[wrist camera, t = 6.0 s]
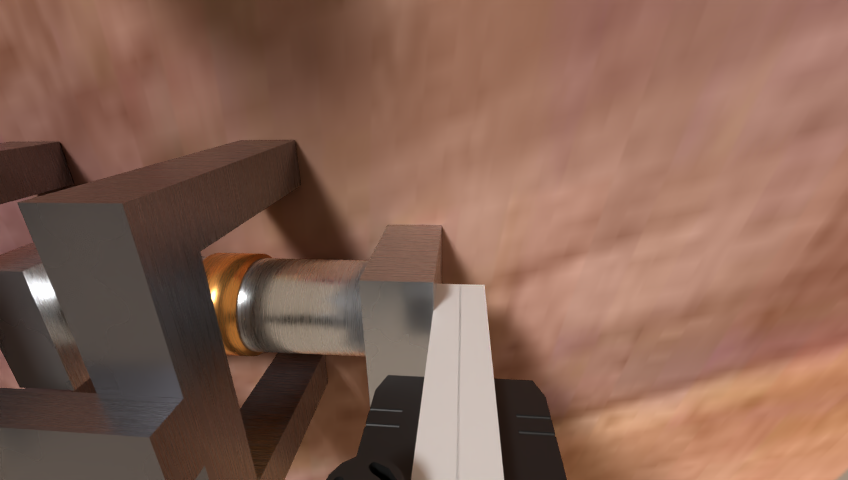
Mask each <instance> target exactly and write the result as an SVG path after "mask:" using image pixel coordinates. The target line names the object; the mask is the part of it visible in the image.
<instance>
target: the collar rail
mask: <svg viewBox="0 0 848 480" xmlns="http://www.w3.org/2000/svg"><path fill="white" fill-rule="evenodd" d="M73 184H74V182H73V180H72V177H71V174H70V171H69V168H68V166H67V163H66V160H65V157H64V154H63V152H62V149H61V146H60V143H59V142H6V143H0V204H3V203H7V202H10V201H14V200H18V199H21V198H25V197H29V196H32V195H36V194H40V193H43V192H47V191H51V190H54V189H58V188H62V187H65V186H69V185H73ZM300 185H301V181H300V174H299V167H298V159H297V152H296V145H295V140H240V141H236V142H233V143H229V144H226V145H222V146H218V147H215V148H211V149H208V150H204V151H200V152H197V153H193V154H190V155H186V156H183V157H179V158H175V159H172V160H168V161H165V162H161V163H157V164H154V165H150V166H147V167H143V168H139V169H136V170H132V171H129V172H125V173H121V174H118V175H114V176H111V177H107V178H104V179H100V180H96V181H93V182H89V183H86V184H82V185H78V186H75V187H71V188H68V189H64V190H60V191H57V192H53V193H50V194H46V195H43V196H39V197H35V198H32V199H28V200H25V201H21V202H17V203H18V206H19V208H20V210H21V213H22V215H23V218H24V220H25V222H26V225H27V227H28V230H29V232H30V234H31V237H32V239H33V242H34V244H35V246H36V249H37V251H38V254H39V256H40V258H41V261H42V263H43V266H44V268H45V270H46V273H47V275H48V278H49V280H50V282H51V285H52V287H53V290H54V292H55V294H56V297H57V299H58V302H59V304H60V306H61V309H62V311H63V314H64V316H65V318H66V321H67V323H68V326H69V328H70V330H71V333H72V335H73V338H74V340H75V342H76V345H77V347H78V350H79V352H80V354H81V357H82V359H83V362H84V364H85V366H86V369H87V371H88V374H89V376H90V378H89V379H88V380H87V381H86V382H84V383H83V384H82V385H81V386H79V387H78V388H77V389H76V390H57V389H39V388H25V389H11V388H0V480H285V478H286V475H287V473H288V471H289V469H290V466H291V464H292V462H293V460H294V457H295V455H296V453H297V451H298V448H299V446H300V444H301V442H302V439H303V437H304V435H305V433H306V430H307V428H308V426H309V424H310V421H311V419H312V417H313V415H314V412H315V410H316V408H317V406H318V403H319V401H320V399H321V397H322V394H323V392H324V390H325V388H326V386H327V383H328V378H327V370H326V363H325V356H324V355H323V354H300V353H278V354H277V355H276V357H275V358H274V360H273V361H272V363H271V364H270V366H269V367H268V368H267V370H266V371H265V373H264V374H263V376H262V377H261V379H260V380H259V382H258V383H257V385H256V386H255V388H254V389H253V391H252V392H251V394H250V395H249V397H248V398H247V400H246V401H245V403H244V404H243V406H242V407H241V408H239V404H238V400H237V396H236V392H235V388H234V384H233V380H232V376H231V372H230V368H229V364H228V360H227V356H226V352H225V348H224V344H223V340H222V336H221V332H220V328H219V324H218V320H217V316H216V312H215V308H214V304H213V300H212V296H211V292H210V288H209V284H208V280H207V276H206V272H205V268H204V264H203V260H202V256H201V252H200V251H202V250H203V249H205V248H206V247H208V246H209V245H211V244H212V243H214V242H215V241H217V240H218V239H220V238H221V237H223V236H225V235H226V234H228V233H229V232H231V231H232V230H234V229H235V228H237V227H238V226H240V225H241V224H243V223H244V222H246V221H247V220H249V219H250V218H252V217H253V216H255V215H256V214H258V213H259V212H261V211H263V210H264V209H266V208H267V207H269V206H270V205H272V204H273V203H275V202H276V201H278V200H279V199H281V198H282V197H284V196H285V195H287V194H288V193H290V192H291V191H293V190H294V189H296V188H297V187H299V186H300Z"/></svg>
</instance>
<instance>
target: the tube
mask: <svg viewBox="0 0 848 480" xmlns="http://www.w3.org/2000/svg"><path fill="white" fill-rule="evenodd" d="M202 260H203V264H204V268H205V272H206V276H207V280H208V284H209V288H210V292H211V296H212V300H213V304H214V308H215V312H216V316H217V320H218V324H219V328H220V332H221V336H222V340H223V344H224V348H225V352H226V355H240V356H257V355H259V354H261V353H263V352H277V353H300V354H323V355H345V356H366V365H367V376H368V388H369V399H370V407H371V403H372V400H373V396H374V393H375V390H376V388H377V387H378V386H379V385H380V384H381V383H382V381H383V380H384V379H385V378H386V377H387V376H388V375H399V376H419V377H425V370H426V362H427V354H428V347H429V339H430V332H431V324H432V316H433V311H434V304H435V296H436V288H437V284H442V226H430V225H387V227H386V229H385V231H384V233H383V235H382V237H381V239H380V241H379V243H378V245H377V246H376V248H375V250H374V252H373V254H372V256H371V258H370V260H325V259H278V258H272V257H270V256H269V255H267V254H245V253H215V254H212V255H210V256H208V257H202ZM0 349H1V351H2V353H3V355H4V357H5V359H6V361H7V363H8V365H9V367H10V369H11V371H12V373H13V375H14V377H15V379H16V381H17V383H18V385H19V387H21V388H39V389H57V390H76V389H77V388H78V387H79V386H81V385H82V384H83V383H84V382H86V381H87V380H88V379H89V378H90V376H89V374H88V371H87V369H86V366H85V364H84V362H83V359H82V357H81V354H80V352H79V350H78V347H77V345H76V342H75V340H74V338H73V335H72V333H71V330H70V328H69V326H68V323H67V321H66V318H65V316H64V314H63V311H62V309H61V306H60V304H59V302H58V299H57V297H56V294H55V292H54V290H53V287H52V285H51V282H50V280H49V278H48V275H47V273H46V270H45V268H44V266H43V263H42V261H41V258H40V256H39V254H38V251H37V249H36V246H35V244H34V242H33V243H30V244H28V245H25V246H23V247H20V248H17V249H15V250H12V251H9V252H7V253H4V254H1V255H0Z"/></svg>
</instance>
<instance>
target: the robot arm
mask: <svg viewBox="0 0 848 480" xmlns="http://www.w3.org/2000/svg"><path fill="white" fill-rule="evenodd" d="M550 417H551V416H550V412H549V408H548V405H547V401H546V397H545V396H544V394H543V393H542V392H541V391H540V389H539V388H538V387H537V386H536V384H535V383H534V382H533V381H530V380H509V379H494V375H493V365H492V355H491V345H490V335H489V325H488V315H487V305H486V295H485V285H469V284H437V288H436V296H435V304H434V311H433V316H432V324H431V332H430V339H429V347H428V354H427V362H426V370H425V377H419V376H399V375H388V376H387V377H386V378H385V379H384V380H383V381H382V383H381V384H380V385H379V386H378V387H377V388H376V390H375V393H374V396H373V400H372V403H371V407H370V411H369V414H368V418H367V421H366V427H365V428H364V432H363V435H362V439H361V442H360V446H359V449H358V453H357V456H356V457H355V458H352V459H350V460H348V461H346V462H344V463H342V464H340V465H339V466H338V467H337V468H336V469H335V470H334V471H333V472H332V473H331V474H329V476H328V478H327V479H326V480H567V478H566V475H565V471H564V467H563V463H562V459H561V455H560V451H559V447H558V443H557V440H556V437H555V432H554V428H553V424H552V420H551V418H550Z"/></svg>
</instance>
